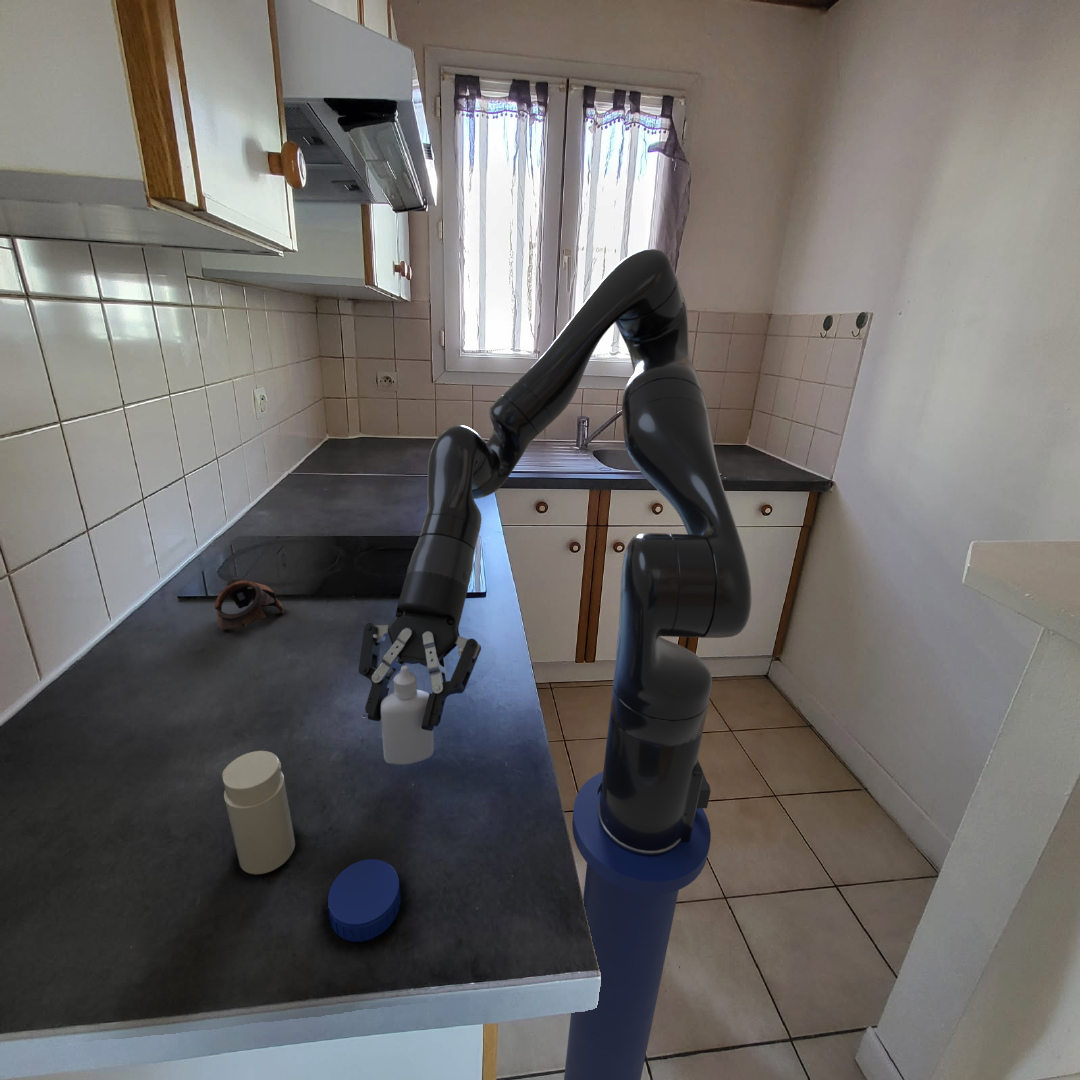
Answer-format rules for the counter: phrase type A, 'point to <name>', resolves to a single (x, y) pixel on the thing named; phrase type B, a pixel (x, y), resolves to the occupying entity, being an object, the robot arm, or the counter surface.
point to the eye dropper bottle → (405, 722)
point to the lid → (364, 900)
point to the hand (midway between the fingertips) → (399, 724)
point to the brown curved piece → (245, 603)
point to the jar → (258, 811)
